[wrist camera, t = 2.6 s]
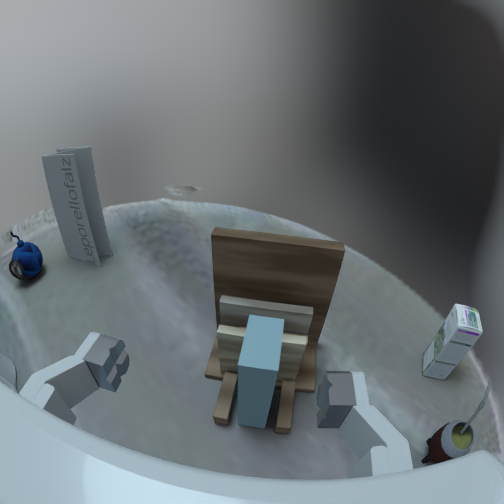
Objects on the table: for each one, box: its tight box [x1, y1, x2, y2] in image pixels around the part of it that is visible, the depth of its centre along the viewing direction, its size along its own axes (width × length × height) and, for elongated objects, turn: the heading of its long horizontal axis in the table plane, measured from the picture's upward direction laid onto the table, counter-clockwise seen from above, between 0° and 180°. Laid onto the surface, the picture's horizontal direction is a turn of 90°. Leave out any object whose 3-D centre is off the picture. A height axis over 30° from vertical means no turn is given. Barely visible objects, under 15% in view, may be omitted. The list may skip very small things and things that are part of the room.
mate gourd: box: [422, 380, 491, 463], centre depth 25 cm, size 8×8×15 cm
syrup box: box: [422, 304, 482, 380], centre depth 39 cm, size 6×6×14 cm
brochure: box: [42, 147, 113, 267], centre depth 61 cm, size 14×6×30 cm, turn 74°
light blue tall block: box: [238, 315, 284, 429], centre depth 34 cm, size 7×4×18 cm, turn 171°
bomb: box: [9, 231, 43, 279], centre depth 56 cm, size 10×11×15 cm
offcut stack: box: [217, 295, 313, 382], centre depth 41 cm, size 5×13×13 cm, turn 81°
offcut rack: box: [205, 227, 345, 434], centre depth 37 cm, size 19×18×22 cm
